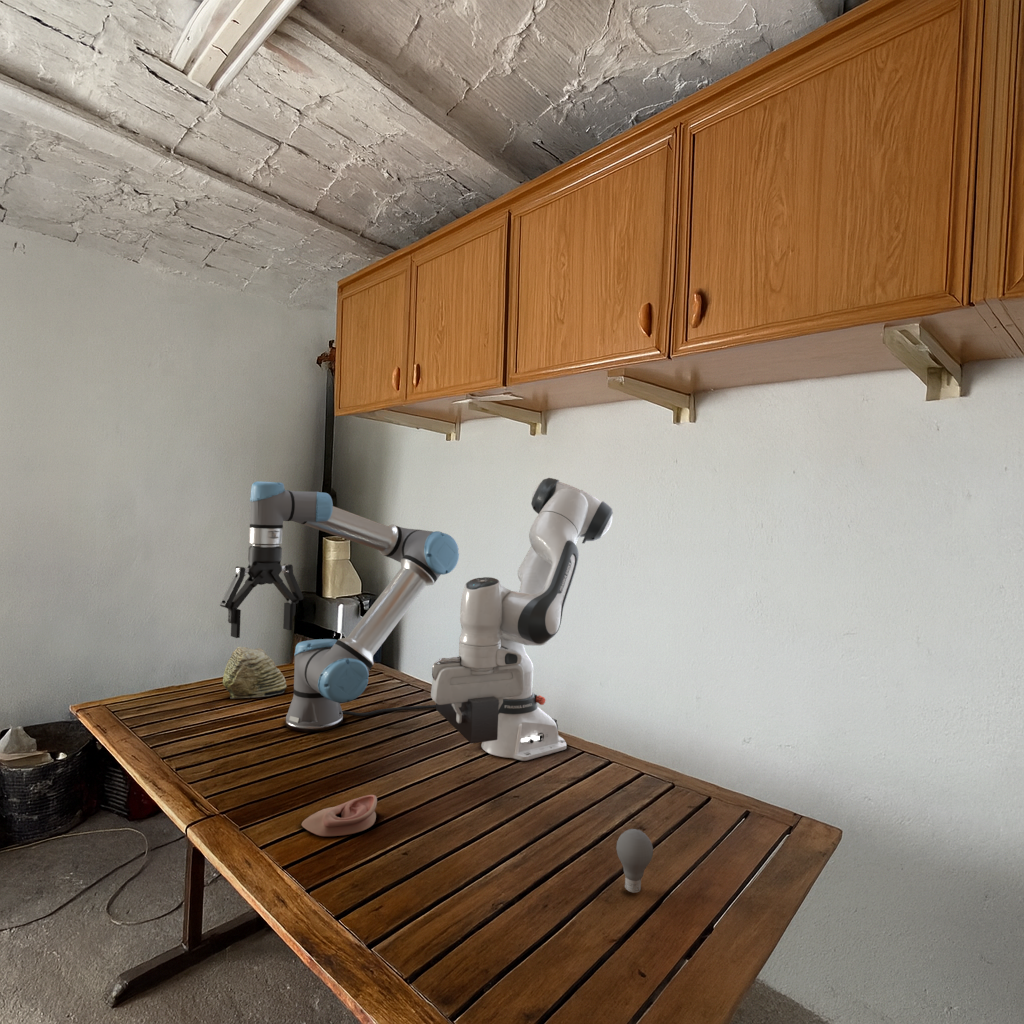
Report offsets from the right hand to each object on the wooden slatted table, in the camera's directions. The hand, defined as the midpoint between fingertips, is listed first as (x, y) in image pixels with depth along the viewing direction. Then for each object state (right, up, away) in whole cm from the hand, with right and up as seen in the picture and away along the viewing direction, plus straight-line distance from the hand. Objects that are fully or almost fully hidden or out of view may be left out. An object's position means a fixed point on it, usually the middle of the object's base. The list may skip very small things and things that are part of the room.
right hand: (477, 720), depth 134 cm
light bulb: (+28, -19, -29) cm, 44 cm away
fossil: (-73, -13, +64) cm, 98 cm away
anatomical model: (-26, -17, -11) cm, 33 cm away
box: (-3, -3, +6) cm, 7 cm away
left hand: (-53, +15, +19) cm, 58 cm away
